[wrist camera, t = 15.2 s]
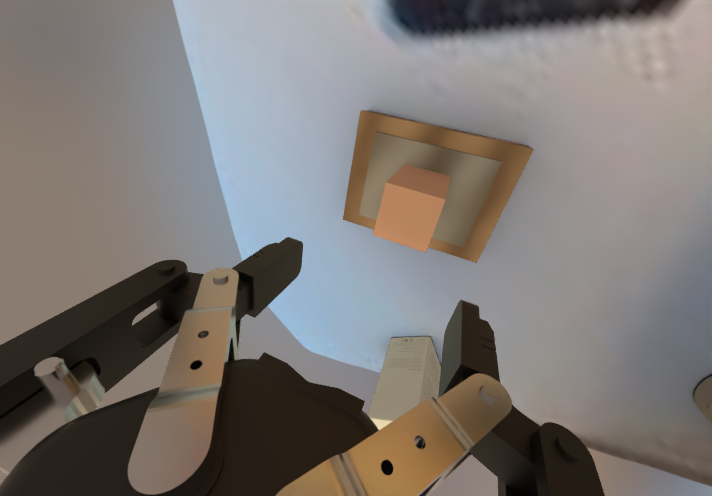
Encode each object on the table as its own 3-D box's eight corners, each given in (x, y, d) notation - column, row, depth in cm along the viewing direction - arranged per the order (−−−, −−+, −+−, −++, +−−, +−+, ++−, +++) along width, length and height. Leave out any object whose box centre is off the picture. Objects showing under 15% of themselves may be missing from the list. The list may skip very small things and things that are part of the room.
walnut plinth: (527, 145, 24) (535, 149, 22) (475, 252, 31) (476, 264, 28) (368, 110, 28) (358, 110, 25) (350, 212, 34) (341, 220, 32)
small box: (390, 336, 41) (365, 416, 30) (431, 335, 38) (418, 423, 28) (406, 373, 44) (387, 460, 33) (444, 375, 41) (437, 470, 30)
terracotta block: (450, 176, 25) (445, 199, 18) (435, 218, 27) (425, 252, 21) (405, 164, 26) (385, 182, 19) (394, 205, 28) (372, 234, 22)
